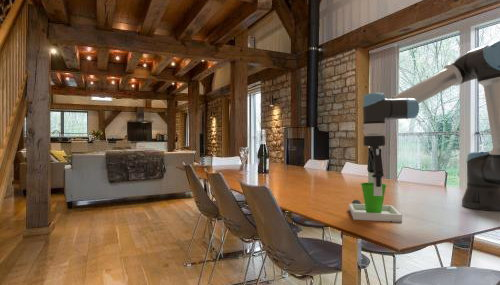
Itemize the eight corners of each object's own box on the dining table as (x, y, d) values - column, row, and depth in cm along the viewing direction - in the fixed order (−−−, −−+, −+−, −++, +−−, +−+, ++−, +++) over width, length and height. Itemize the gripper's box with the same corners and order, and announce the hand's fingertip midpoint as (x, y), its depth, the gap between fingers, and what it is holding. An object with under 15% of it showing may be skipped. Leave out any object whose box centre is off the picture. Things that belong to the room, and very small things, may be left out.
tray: (392, 211, 127) (392, 205, 127) (402, 222, 112) (402, 214, 112) (349, 209, 131) (349, 203, 131) (353, 219, 115) (353, 212, 115)
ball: (360, 207, 134) (360, 199, 134) (361, 209, 131) (361, 200, 131) (351, 207, 135) (351, 198, 135) (352, 209, 132) (352, 200, 131)
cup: (382, 211, 125) (382, 182, 125) (390, 216, 116) (390, 186, 116) (358, 210, 126) (358, 182, 126) (364, 216, 117) (364, 185, 117)
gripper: (359, 135, 134) (360, 187, 134) (368, 135, 109) (369, 198, 110) (379, 135, 132) (379, 187, 132) (392, 135, 108) (393, 199, 108)
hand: (374, 192), depth 121 cm, fingers open, 13 cm apart
